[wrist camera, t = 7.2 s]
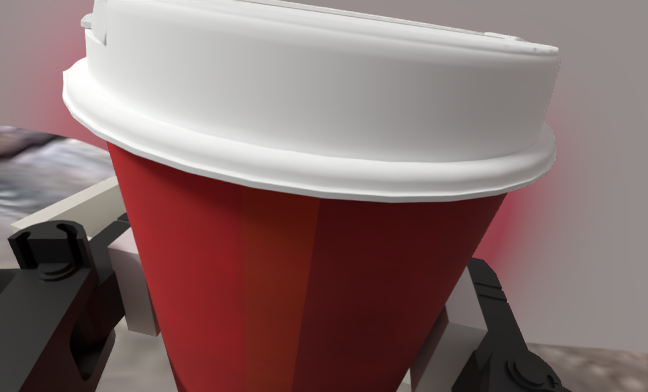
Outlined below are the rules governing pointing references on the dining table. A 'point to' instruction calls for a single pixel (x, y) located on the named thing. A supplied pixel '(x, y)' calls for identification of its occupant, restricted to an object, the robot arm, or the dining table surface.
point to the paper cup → (306, 177)
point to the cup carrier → (102, 219)
